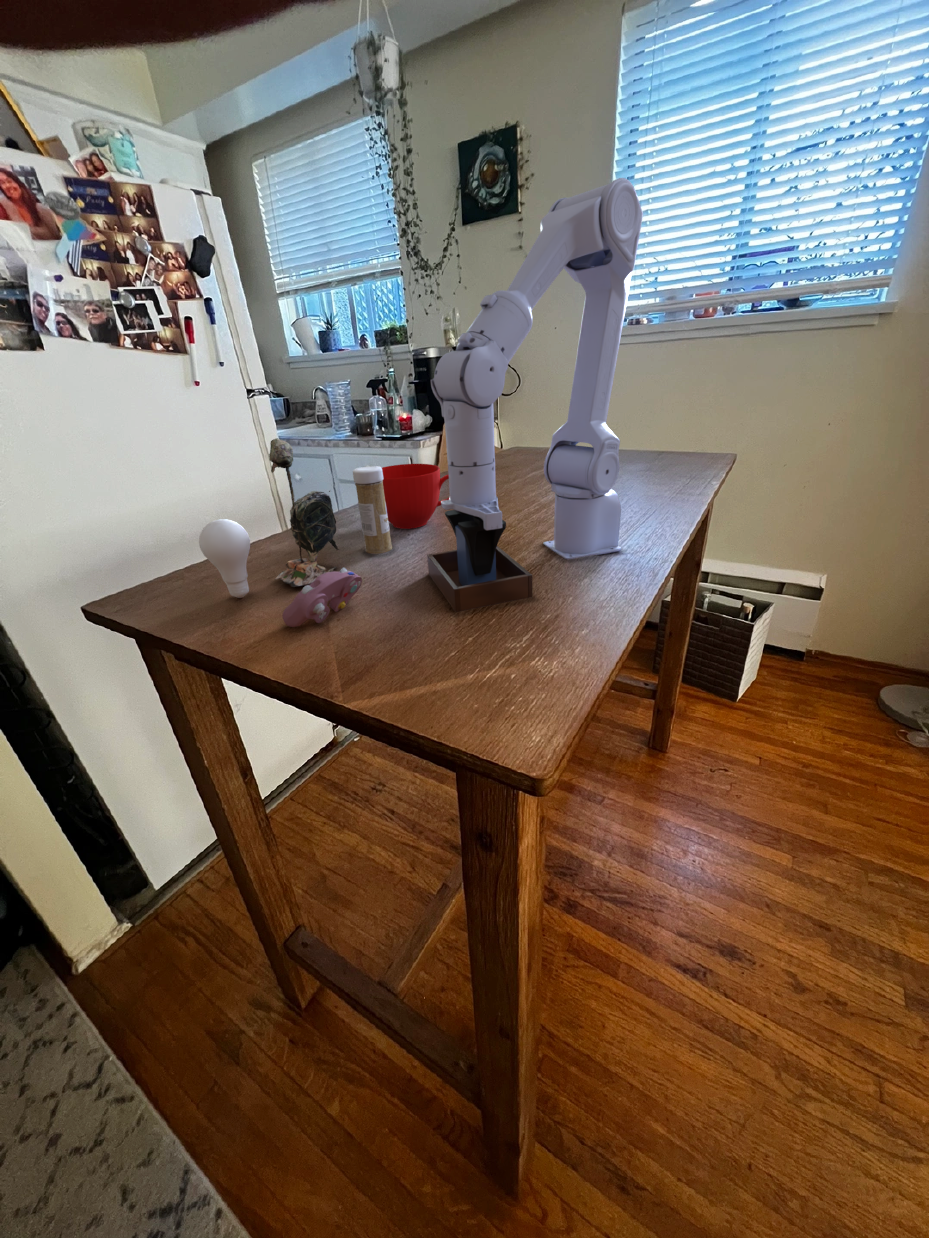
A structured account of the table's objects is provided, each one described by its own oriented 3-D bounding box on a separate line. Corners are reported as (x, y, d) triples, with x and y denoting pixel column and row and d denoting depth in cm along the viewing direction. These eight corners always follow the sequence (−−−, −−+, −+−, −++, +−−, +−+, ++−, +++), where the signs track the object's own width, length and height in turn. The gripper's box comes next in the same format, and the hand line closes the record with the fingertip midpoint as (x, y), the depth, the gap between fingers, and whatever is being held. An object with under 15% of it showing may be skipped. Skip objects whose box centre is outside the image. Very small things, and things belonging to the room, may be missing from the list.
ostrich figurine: (359, 570, 76) (337, 431, 67) (290, 594, 70) (254, 443, 60) (332, 558, 82) (308, 427, 72) (265, 579, 75) (229, 439, 66)
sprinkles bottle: (397, 551, 83) (386, 467, 76) (372, 557, 81) (359, 472, 74) (385, 544, 86) (374, 464, 80) (360, 550, 84) (347, 468, 78)
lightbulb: (219, 611, 66) (193, 530, 61) (216, 594, 71) (191, 518, 66) (267, 599, 68) (246, 521, 63) (261, 584, 73) (241, 510, 68)
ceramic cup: (464, 531, 90) (460, 474, 85) (370, 536, 91) (362, 480, 86) (464, 511, 101) (462, 460, 97) (382, 516, 102) (375, 465, 97)
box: (495, 564, 75) (494, 543, 73) (532, 599, 64) (532, 574, 62) (429, 576, 72) (426, 554, 71) (456, 614, 61) (454, 589, 60)
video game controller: (304, 645, 60) (312, 602, 55) (277, 622, 61) (283, 579, 56) (360, 611, 67) (371, 571, 63) (336, 591, 68) (345, 551, 64)
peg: (486, 577, 70) (483, 521, 66) (496, 587, 67) (494, 529, 63) (458, 582, 69) (455, 525, 65) (468, 593, 66) (464, 534, 62)
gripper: (424, 457, 66) (433, 554, 72) (457, 477, 53) (464, 593, 60) (475, 451, 67) (479, 547, 74) (518, 469, 55) (519, 583, 61)
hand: (476, 567), depth 67 cm, fingers closed on peg, 4 cm apart
